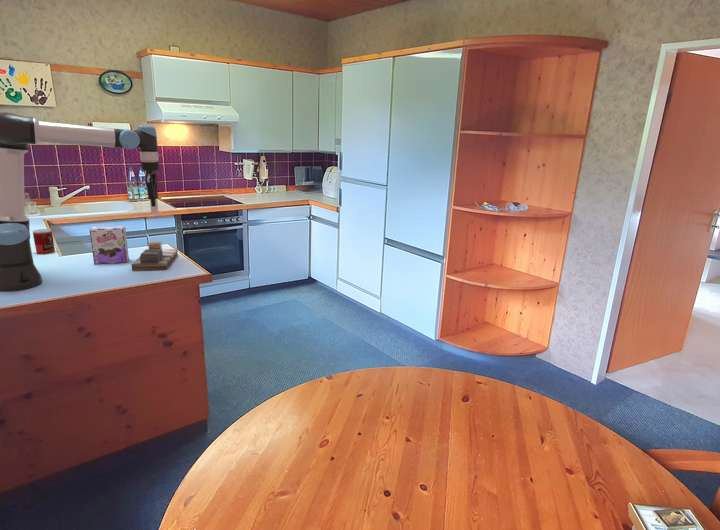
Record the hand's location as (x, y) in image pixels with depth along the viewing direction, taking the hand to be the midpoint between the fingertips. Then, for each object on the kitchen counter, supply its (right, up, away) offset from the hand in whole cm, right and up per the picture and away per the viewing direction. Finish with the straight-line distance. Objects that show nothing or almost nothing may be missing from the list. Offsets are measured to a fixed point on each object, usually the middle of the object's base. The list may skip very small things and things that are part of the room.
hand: (154, 213), depth 212 cm
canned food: (-60, -18, +13) cm, 64 cm away
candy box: (-19, -23, -1) cm, 30 cm away
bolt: (+1, -20, -3) cm, 21 cm away
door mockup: (+1, -23, -1) cm, 23 cm away
